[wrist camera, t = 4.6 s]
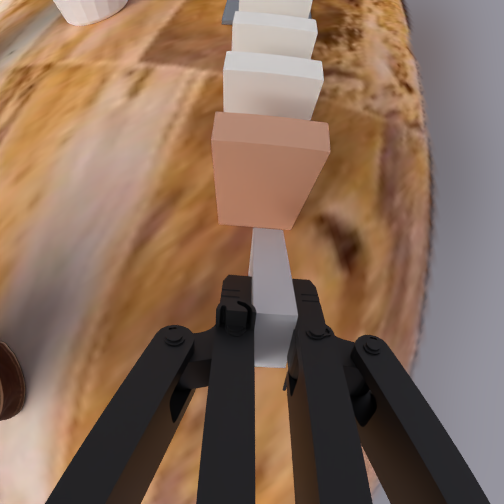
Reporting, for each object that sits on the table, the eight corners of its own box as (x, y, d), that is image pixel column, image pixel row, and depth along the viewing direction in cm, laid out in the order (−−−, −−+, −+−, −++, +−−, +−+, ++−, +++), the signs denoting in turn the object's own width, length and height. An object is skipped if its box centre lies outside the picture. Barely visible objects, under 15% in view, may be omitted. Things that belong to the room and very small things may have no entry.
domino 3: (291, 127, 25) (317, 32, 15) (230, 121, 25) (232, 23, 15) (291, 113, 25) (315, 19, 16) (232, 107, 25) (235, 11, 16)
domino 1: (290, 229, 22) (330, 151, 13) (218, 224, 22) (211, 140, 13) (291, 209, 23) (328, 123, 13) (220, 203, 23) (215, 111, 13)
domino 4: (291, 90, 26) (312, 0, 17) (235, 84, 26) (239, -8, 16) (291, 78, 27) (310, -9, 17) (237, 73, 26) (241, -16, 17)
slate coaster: (311, 33, 29) (312, 29, 28) (221, 24, 29) (221, 20, 28) (306, -4, 32) (307, -8, 31) (231, -12, 31) (231, -15, 31)
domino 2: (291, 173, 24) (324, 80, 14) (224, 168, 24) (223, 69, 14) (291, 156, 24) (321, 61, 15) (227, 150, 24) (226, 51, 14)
